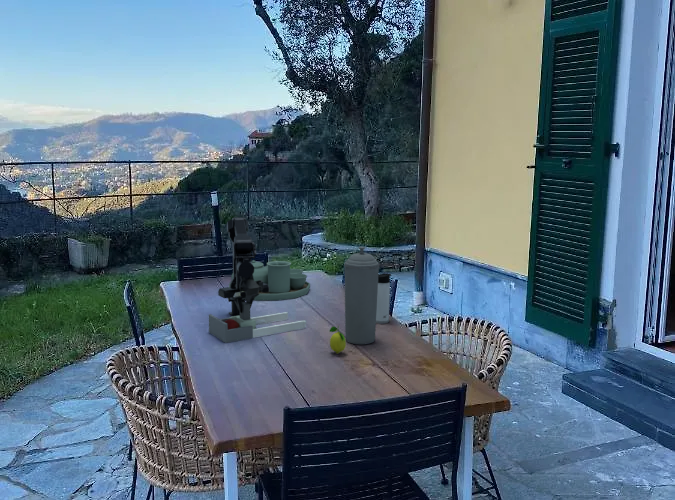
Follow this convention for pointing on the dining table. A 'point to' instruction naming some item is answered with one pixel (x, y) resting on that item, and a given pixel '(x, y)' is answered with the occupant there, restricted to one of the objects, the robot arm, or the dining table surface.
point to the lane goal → (231, 335)
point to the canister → (361, 297)
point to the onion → (232, 324)
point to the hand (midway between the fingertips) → (244, 312)
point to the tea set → (279, 281)
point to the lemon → (337, 341)
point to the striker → (246, 317)
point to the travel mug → (383, 298)
